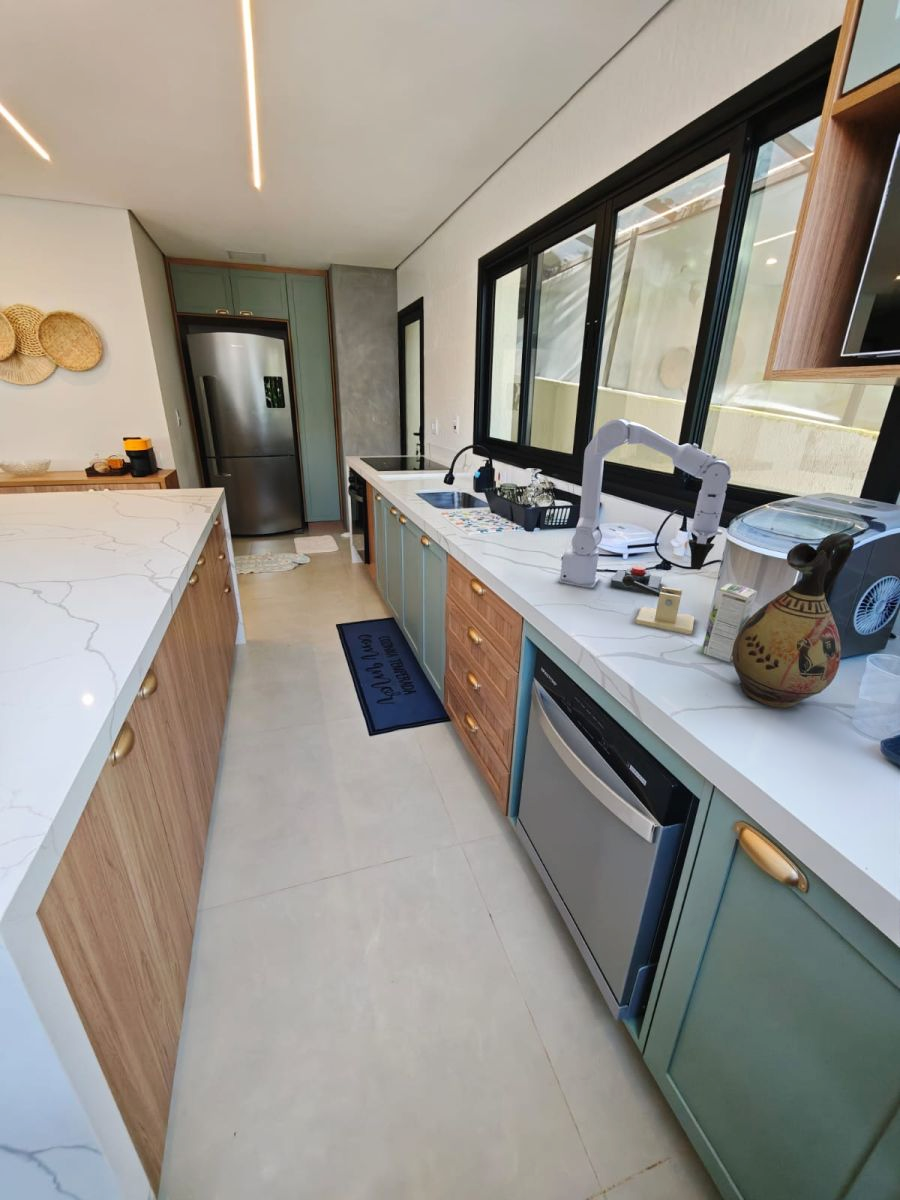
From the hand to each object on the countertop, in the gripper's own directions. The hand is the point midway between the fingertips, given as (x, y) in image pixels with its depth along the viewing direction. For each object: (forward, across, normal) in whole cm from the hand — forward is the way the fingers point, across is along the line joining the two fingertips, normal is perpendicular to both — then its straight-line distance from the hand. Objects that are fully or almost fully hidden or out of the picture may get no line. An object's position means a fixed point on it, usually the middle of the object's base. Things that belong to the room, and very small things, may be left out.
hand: (696, 564), depth 127 cm
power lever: (+4, -17, +9) cm, 20 cm away
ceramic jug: (+10, -40, -17) cm, 45 cm away
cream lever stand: (+10, -17, +4) cm, 20 cm away
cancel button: (+6, +5, +14) cm, 16 cm away
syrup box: (+10, -28, -8) cm, 31 cm away
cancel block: (+10, +5, +14) cm, 18 cm away
